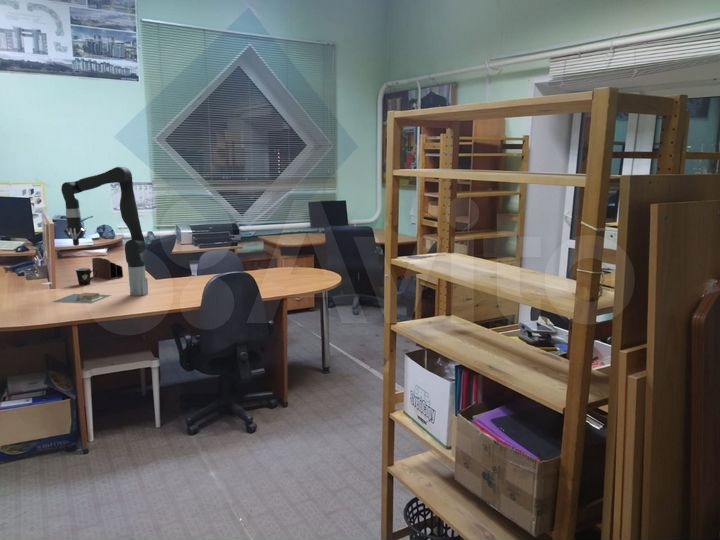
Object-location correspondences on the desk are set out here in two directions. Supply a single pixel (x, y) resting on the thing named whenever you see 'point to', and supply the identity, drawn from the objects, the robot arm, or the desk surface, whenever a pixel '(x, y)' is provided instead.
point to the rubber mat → (73, 299)
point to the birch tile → (88, 296)
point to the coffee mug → (84, 275)
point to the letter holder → (106, 269)
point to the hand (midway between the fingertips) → (76, 245)
